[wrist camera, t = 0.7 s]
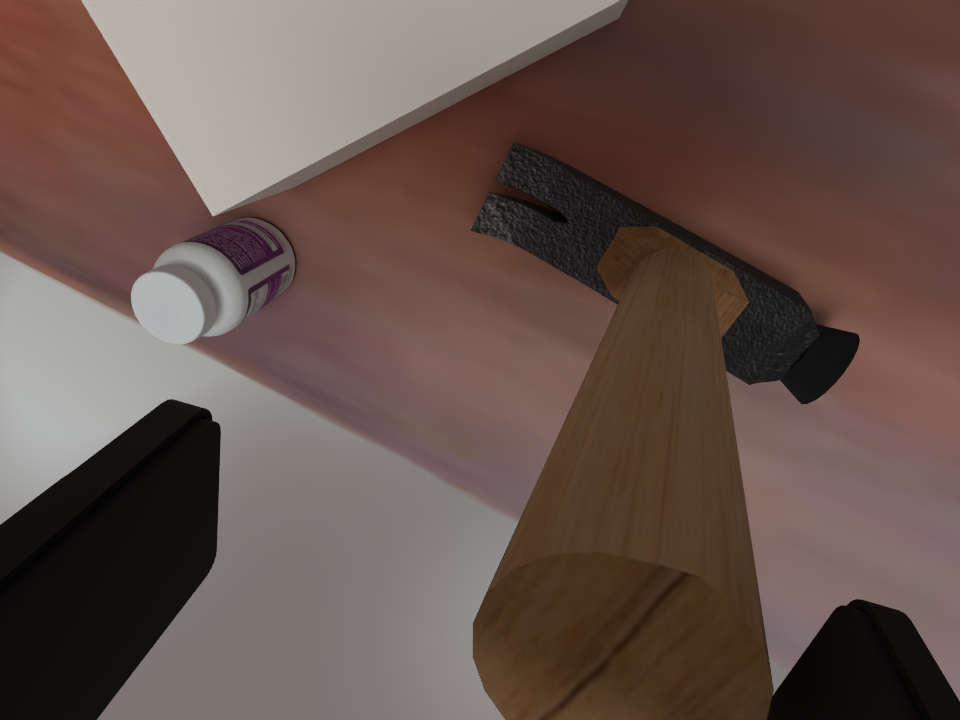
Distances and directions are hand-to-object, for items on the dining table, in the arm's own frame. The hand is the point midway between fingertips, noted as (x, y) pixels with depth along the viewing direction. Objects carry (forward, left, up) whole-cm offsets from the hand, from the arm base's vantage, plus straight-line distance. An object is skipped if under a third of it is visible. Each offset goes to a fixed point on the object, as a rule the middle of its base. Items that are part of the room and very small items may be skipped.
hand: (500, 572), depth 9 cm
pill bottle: (+19, -5, -29) cm, 35 cm away
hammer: (-4, +5, -29) cm, 29 cm away
